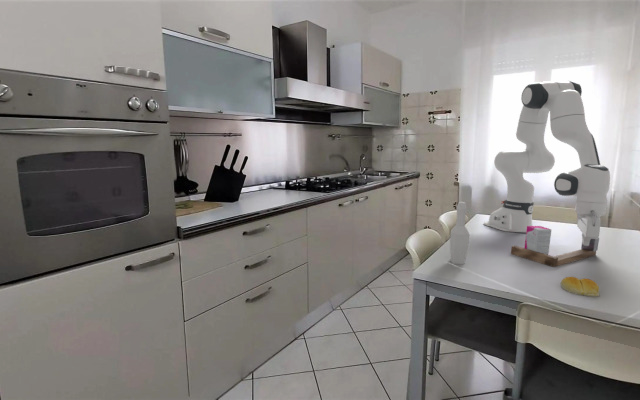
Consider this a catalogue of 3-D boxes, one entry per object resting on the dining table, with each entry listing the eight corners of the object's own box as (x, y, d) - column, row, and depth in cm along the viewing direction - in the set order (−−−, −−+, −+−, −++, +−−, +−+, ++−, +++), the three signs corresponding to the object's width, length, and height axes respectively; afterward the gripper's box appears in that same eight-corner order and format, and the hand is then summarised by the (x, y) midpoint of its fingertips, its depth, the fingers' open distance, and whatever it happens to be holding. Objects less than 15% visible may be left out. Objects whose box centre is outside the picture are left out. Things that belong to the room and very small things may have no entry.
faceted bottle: (445, 259, 124) (449, 200, 120) (463, 259, 124) (467, 200, 120) (451, 265, 118) (456, 203, 114) (470, 266, 117) (475, 204, 114)
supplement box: (548, 259, 124) (552, 229, 123) (533, 259, 124) (537, 229, 122) (537, 254, 130) (540, 225, 128) (522, 254, 130) (526, 225, 128)
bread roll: (559, 283, 104) (561, 270, 103) (596, 290, 99) (598, 277, 99) (561, 293, 97) (562, 279, 96) (600, 301, 92) (603, 287, 92)
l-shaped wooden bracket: (510, 253, 130) (512, 236, 128) (552, 244, 142) (554, 227, 141) (555, 267, 116) (557, 247, 114) (597, 255, 128) (599, 237, 127)
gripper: (607, 214, 114) (602, 253, 116) (595, 205, 132) (590, 239, 134) (584, 212, 117) (579, 250, 119) (575, 203, 135) (571, 237, 137)
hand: (585, 244), depth 127 cm, fingers closed
